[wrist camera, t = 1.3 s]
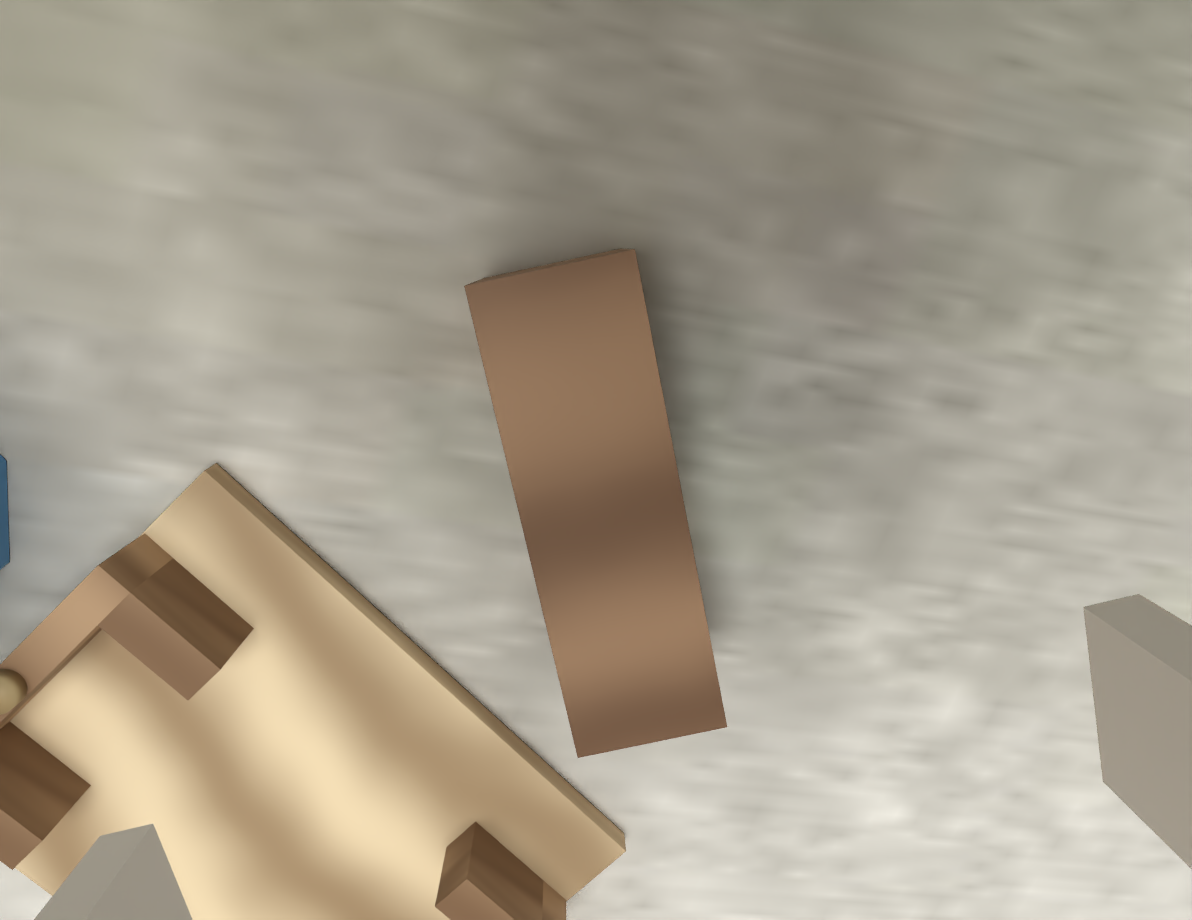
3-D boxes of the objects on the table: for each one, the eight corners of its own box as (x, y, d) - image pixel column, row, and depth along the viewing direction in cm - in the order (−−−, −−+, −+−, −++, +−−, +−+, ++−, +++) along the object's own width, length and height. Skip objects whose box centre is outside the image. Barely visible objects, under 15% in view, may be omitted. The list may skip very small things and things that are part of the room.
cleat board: (216, 462, 30) (154, 501, 25) (624, 833, 34) (633, 924, 29) (-82, 763, 32) (-187, 848, 27) (334, 1078, 36) (300, 1198, 31)
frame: (482, 278, 29) (462, 286, 23) (622, 248, 29) (637, 248, 23) (573, 665, 32) (575, 758, 26) (699, 638, 32) (729, 726, 26)
